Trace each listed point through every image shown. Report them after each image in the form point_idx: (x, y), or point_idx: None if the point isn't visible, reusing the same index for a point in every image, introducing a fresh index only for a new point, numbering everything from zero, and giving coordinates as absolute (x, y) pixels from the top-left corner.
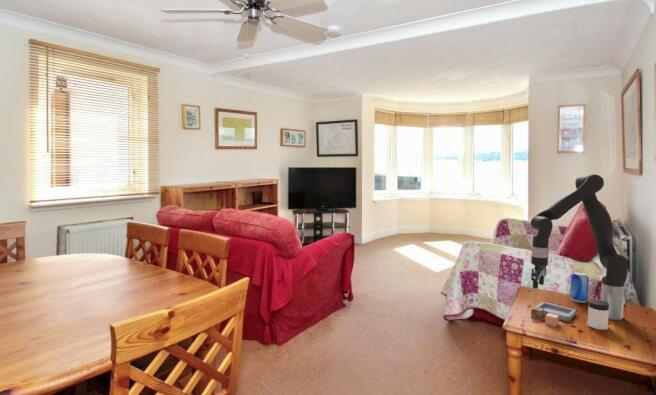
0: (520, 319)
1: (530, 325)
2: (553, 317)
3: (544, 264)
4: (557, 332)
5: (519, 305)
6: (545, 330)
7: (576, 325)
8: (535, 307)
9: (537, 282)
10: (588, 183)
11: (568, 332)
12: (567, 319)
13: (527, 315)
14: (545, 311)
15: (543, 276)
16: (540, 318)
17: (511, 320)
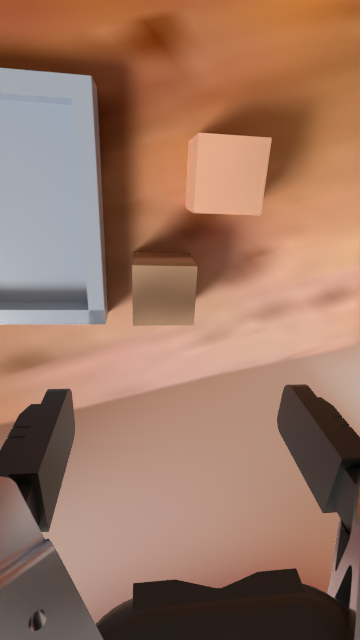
0: (261, 328)
1: (313, 266)
2: (268, 157)
3: None
4: (335, 109)
5: None
6: (341, 180)
7: (123, 13)
8: (152, 312)
9: (355, 449)
10: None
11: (296, 42)
12: (95, 92)
13: None
14: (101, 254)
15: (27, 511)
16: (187, 254)
17: (300, 352)
